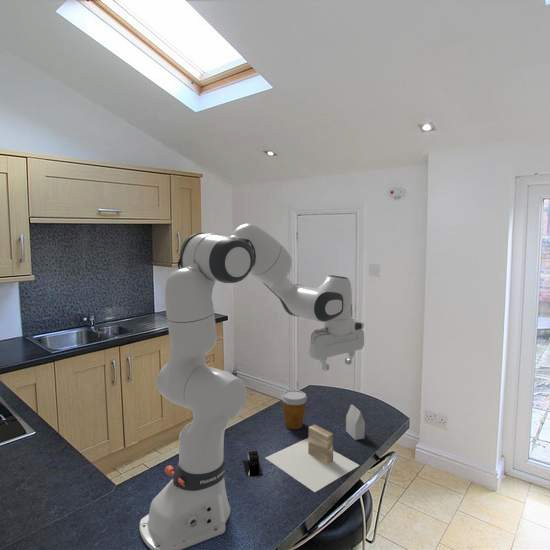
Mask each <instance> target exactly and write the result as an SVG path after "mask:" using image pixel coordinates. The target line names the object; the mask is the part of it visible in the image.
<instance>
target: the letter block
mask: <svg viewBox="0 0 550 550" xmlns="http://www.w3.org/2000/svg"><path fill="white" fill-rule="evenodd" d="M334 435H335V434H334V433H333V432H331V431H329V430H327V429H325V428H324V427H321V426H319V425H317V424H313V425H310V426H308V438H309V439H308V453H309V454H310V455H312V456H314V457H315V458H317V459H319V460H320V461H322V462H324V463H325V464H328V463H330V462H332V461H333V451H334V441H335V440H334Z"/></svg>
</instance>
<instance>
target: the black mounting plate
mask: <svg viewBox="0 0 550 550" xmlns="http://www.w3.org/2000/svg"><path fill="white" fill-rule="evenodd" d="M242 463H243V468H244V473H245V477H246V478H249V477H250V478H251V477H258V476H264V475H263V473H262V467H261V465H260V456H259V453H258V451H257V450H255V451H253V450H252V451H248V452H247V460H244V459H242Z"/></svg>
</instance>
